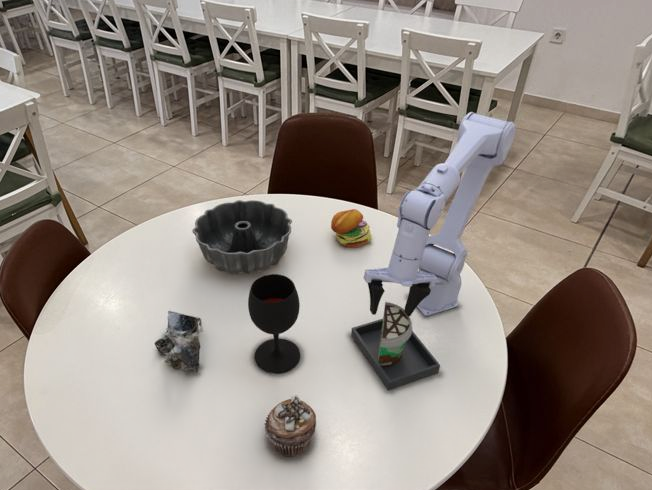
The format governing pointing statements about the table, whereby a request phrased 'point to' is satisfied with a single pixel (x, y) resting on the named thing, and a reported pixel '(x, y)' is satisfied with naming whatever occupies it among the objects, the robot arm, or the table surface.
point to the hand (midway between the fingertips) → (390, 312)
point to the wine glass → (274, 321)
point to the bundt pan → (243, 235)
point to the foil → (181, 341)
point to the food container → (393, 334)
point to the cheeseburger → (350, 228)
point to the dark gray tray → (411, 363)
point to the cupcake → (290, 426)
